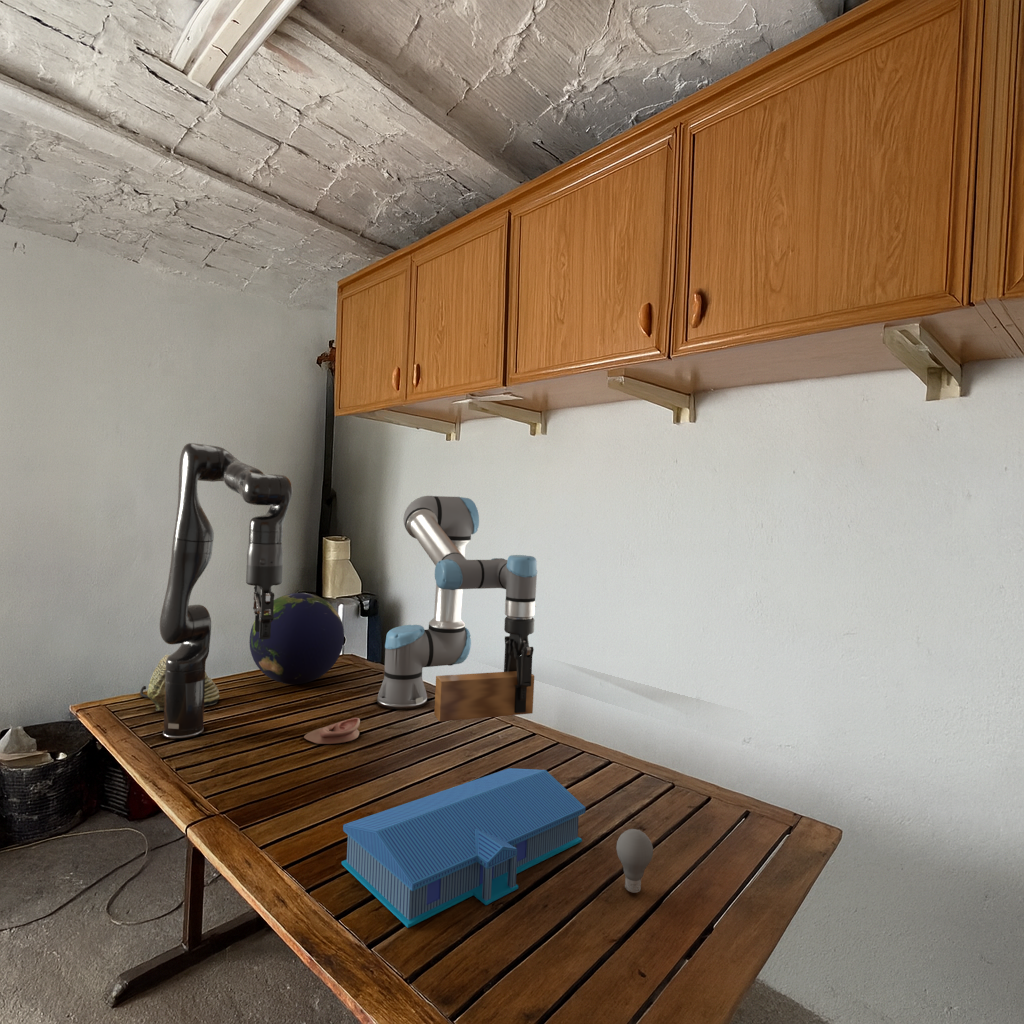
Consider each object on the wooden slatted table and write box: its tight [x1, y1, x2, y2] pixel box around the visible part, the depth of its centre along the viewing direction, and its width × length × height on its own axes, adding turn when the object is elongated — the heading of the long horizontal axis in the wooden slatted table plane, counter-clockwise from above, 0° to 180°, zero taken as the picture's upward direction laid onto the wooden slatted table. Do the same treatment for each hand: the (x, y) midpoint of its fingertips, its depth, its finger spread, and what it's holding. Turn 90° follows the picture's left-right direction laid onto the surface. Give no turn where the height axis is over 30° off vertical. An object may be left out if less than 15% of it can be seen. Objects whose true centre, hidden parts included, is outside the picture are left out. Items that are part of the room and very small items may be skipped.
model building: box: [341, 767, 586, 929], centre depth 114 cm, size 39×24×10 cm, turn 132°
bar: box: [433, 671, 535, 723], centre depth 157 cm, size 24×5×10 cm, turn 112°
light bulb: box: [615, 828, 654, 894], centre depth 106 cm, size 6×6×10 cm
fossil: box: [146, 654, 221, 712], centre depth 185 cm, size 9×18×15 cm, turn 132°
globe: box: [248, 592, 345, 686], centre depth 212 cm, size 30×30×30 cm
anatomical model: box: [303, 717, 361, 745], centre depth 167 cm, size 13×4×12 cm
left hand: (262, 635), depth 142 cm, fingers open, 8 cm apart
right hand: (515, 708), depth 160 cm, fingers closed on bar, 5 cm apart
